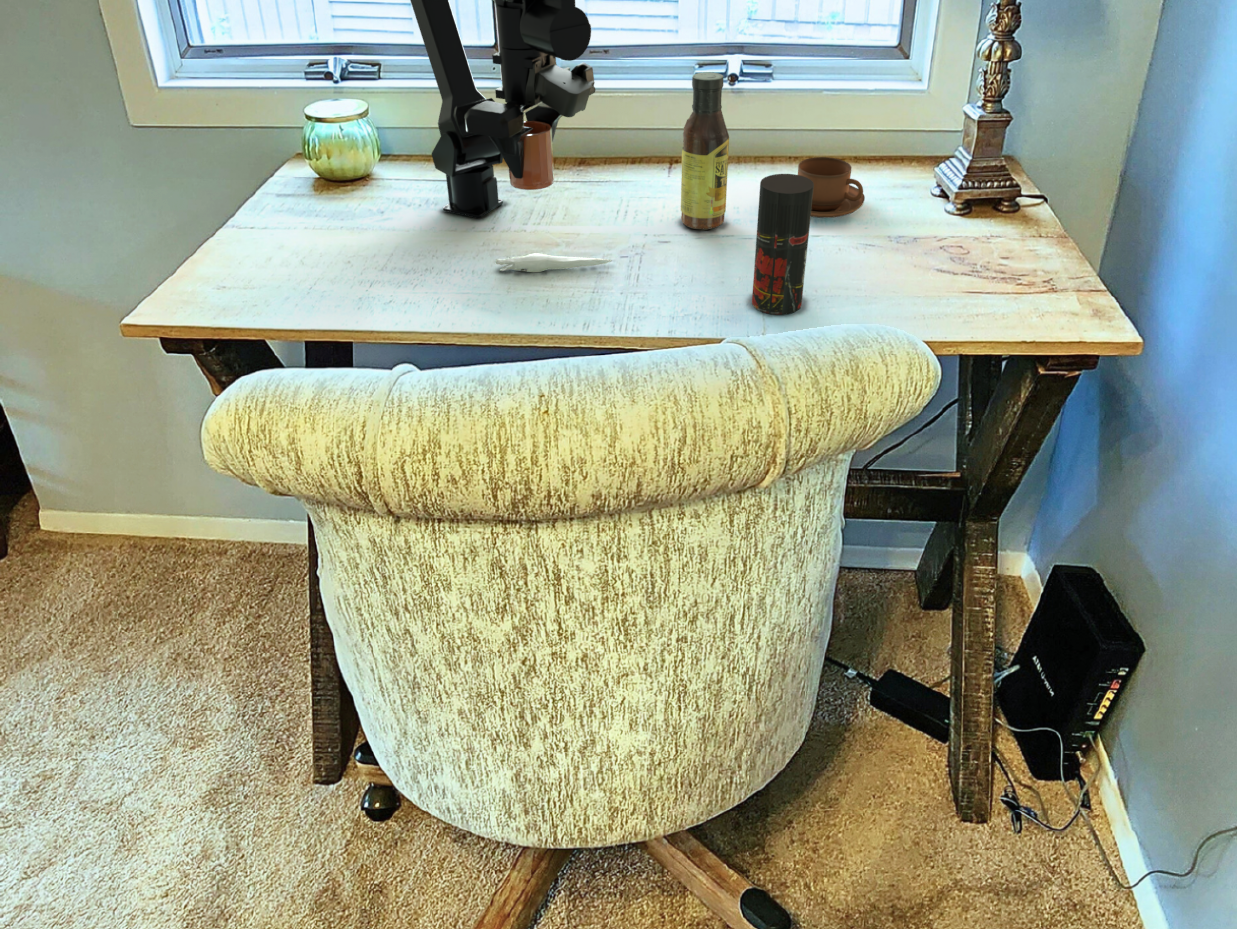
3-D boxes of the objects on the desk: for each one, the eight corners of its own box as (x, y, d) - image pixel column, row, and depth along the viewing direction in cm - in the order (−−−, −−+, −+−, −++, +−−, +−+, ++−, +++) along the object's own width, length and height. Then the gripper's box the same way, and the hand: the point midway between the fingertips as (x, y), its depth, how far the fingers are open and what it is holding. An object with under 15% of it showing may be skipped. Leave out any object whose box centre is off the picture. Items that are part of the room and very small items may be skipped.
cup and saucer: (868, 197, 149) (874, 155, 146) (856, 229, 140) (861, 186, 137) (787, 188, 153) (790, 147, 149) (770, 219, 143) (773, 176, 140)
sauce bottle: (722, 233, 140) (729, 84, 128) (677, 230, 141) (680, 82, 129) (727, 214, 145) (735, 70, 133) (684, 211, 146) (687, 68, 134)
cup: (501, 185, 132) (497, 131, 128) (525, 171, 136) (521, 118, 132) (539, 192, 130) (535, 138, 126) (562, 178, 134) (559, 124, 130)
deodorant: (747, 293, 126) (755, 174, 117) (795, 290, 126) (807, 172, 117) (757, 316, 121) (766, 194, 112) (806, 313, 121) (819, 192, 112)
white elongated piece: (495, 275, 131) (494, 261, 129) (496, 266, 133) (495, 252, 132) (612, 271, 131) (612, 258, 130) (611, 262, 133) (611, 249, 132)
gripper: (537, 71, 113) (546, 206, 122) (618, 32, 126) (620, 156, 136) (455, 60, 118) (470, 190, 127) (541, 23, 131) (548, 144, 140)
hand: (531, 170), depth 132 cm, fingers closed on cup, 6 cm apart
